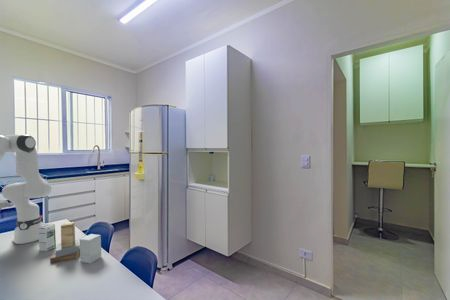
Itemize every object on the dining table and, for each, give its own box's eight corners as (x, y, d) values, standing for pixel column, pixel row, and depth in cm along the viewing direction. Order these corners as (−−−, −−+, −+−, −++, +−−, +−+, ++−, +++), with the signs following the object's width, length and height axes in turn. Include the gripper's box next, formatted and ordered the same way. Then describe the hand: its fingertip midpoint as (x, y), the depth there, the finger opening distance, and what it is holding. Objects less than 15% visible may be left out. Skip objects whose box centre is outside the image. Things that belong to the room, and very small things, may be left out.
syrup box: (46, 251, 127) (46, 227, 127) (38, 250, 128) (38, 226, 128) (56, 246, 133) (55, 223, 133) (48, 246, 134) (47, 223, 134)
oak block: (64, 243, 123) (64, 223, 123) (75, 242, 125) (74, 221, 125) (61, 247, 118) (60, 225, 118) (71, 245, 120) (71, 224, 120)
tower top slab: (57, 250, 123) (57, 244, 123) (78, 245, 128) (78, 239, 128) (55, 257, 114) (55, 251, 114) (78, 252, 120) (78, 245, 120)
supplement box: (101, 257, 120) (101, 234, 119) (90, 264, 112) (89, 240, 112) (91, 255, 122) (91, 233, 122) (79, 262, 115) (78, 238, 114)
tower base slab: (59, 253, 125) (59, 248, 125) (83, 250, 129) (83, 244, 129) (50, 264, 114) (50, 258, 114) (76, 260, 118) (76, 254, 118)
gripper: (-50, 209, 95) (-10, 206, 99) (-13, 198, 114) (18, 196, 118) (-49, 223, 95) (-10, 219, 99) (-13, 210, 114) (19, 207, 118)
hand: (6, 207), depth 109 cm, fingers open, 8 cm apart
